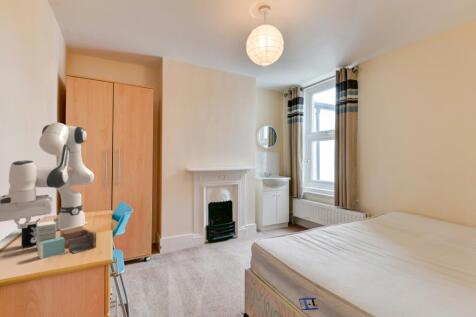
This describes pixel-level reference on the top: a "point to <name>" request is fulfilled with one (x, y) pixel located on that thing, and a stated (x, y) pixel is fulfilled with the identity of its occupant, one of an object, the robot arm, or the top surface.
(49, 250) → the boxed book
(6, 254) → the top surface
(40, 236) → the supplement box
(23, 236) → the beverage can
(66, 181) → the robot arm
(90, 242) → the book stack with bookend
